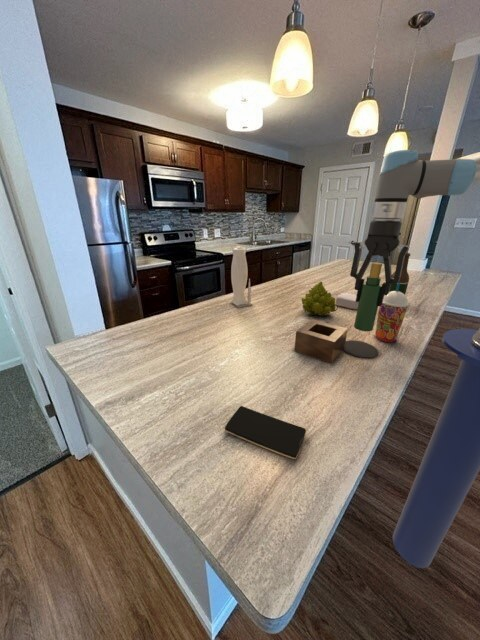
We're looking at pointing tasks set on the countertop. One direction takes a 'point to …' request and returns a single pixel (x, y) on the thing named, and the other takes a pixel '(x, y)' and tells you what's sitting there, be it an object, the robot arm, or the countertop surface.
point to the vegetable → (319, 301)
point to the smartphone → (266, 432)
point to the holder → (320, 340)
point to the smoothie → (391, 315)
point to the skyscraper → (240, 277)
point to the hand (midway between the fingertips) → (368, 302)
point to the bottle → (369, 300)
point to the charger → (347, 301)
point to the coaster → (360, 349)
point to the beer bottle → (402, 277)
